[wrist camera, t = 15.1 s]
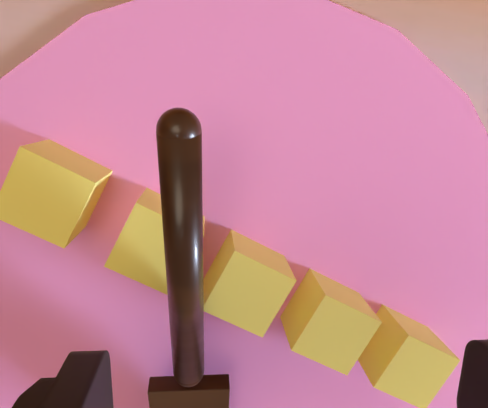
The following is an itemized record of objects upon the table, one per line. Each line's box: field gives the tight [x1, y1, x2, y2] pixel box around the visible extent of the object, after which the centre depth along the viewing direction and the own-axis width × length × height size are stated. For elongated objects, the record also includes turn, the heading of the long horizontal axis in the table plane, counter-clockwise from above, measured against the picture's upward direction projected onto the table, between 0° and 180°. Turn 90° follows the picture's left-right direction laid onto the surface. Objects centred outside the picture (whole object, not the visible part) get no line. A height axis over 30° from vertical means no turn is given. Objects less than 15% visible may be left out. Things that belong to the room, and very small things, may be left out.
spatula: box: [148, 108, 230, 408], centre depth 19 cm, size 18×4×11 cm
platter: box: [0, 0, 488, 408], centre depth 21 cm, size 32×32×3 cm
